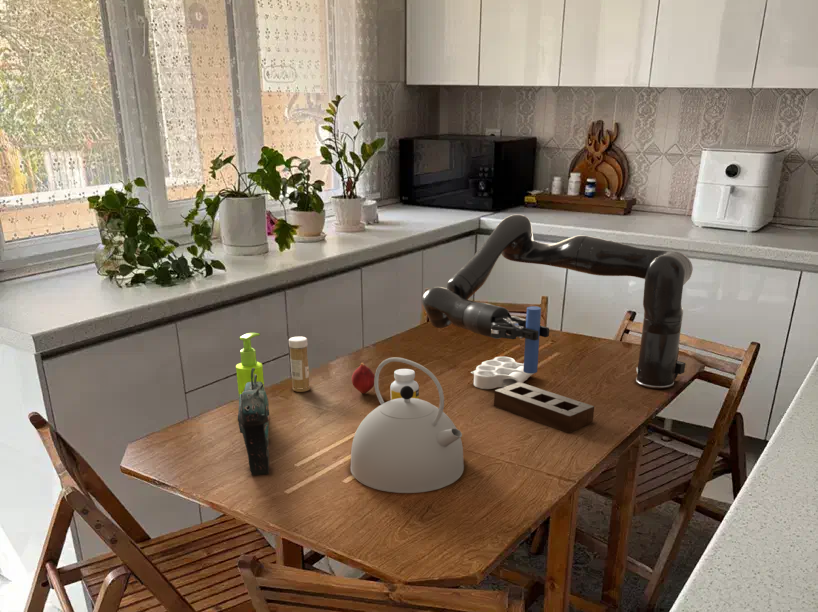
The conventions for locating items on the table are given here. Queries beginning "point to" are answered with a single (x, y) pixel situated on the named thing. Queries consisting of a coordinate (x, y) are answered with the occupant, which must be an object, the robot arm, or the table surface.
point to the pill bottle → (404, 383)
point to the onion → (363, 379)
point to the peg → (531, 345)
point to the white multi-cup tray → (499, 373)
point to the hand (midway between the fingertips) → (542, 334)
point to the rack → (544, 407)
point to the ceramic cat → (255, 425)
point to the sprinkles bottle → (299, 363)
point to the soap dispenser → (248, 363)
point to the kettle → (407, 443)
